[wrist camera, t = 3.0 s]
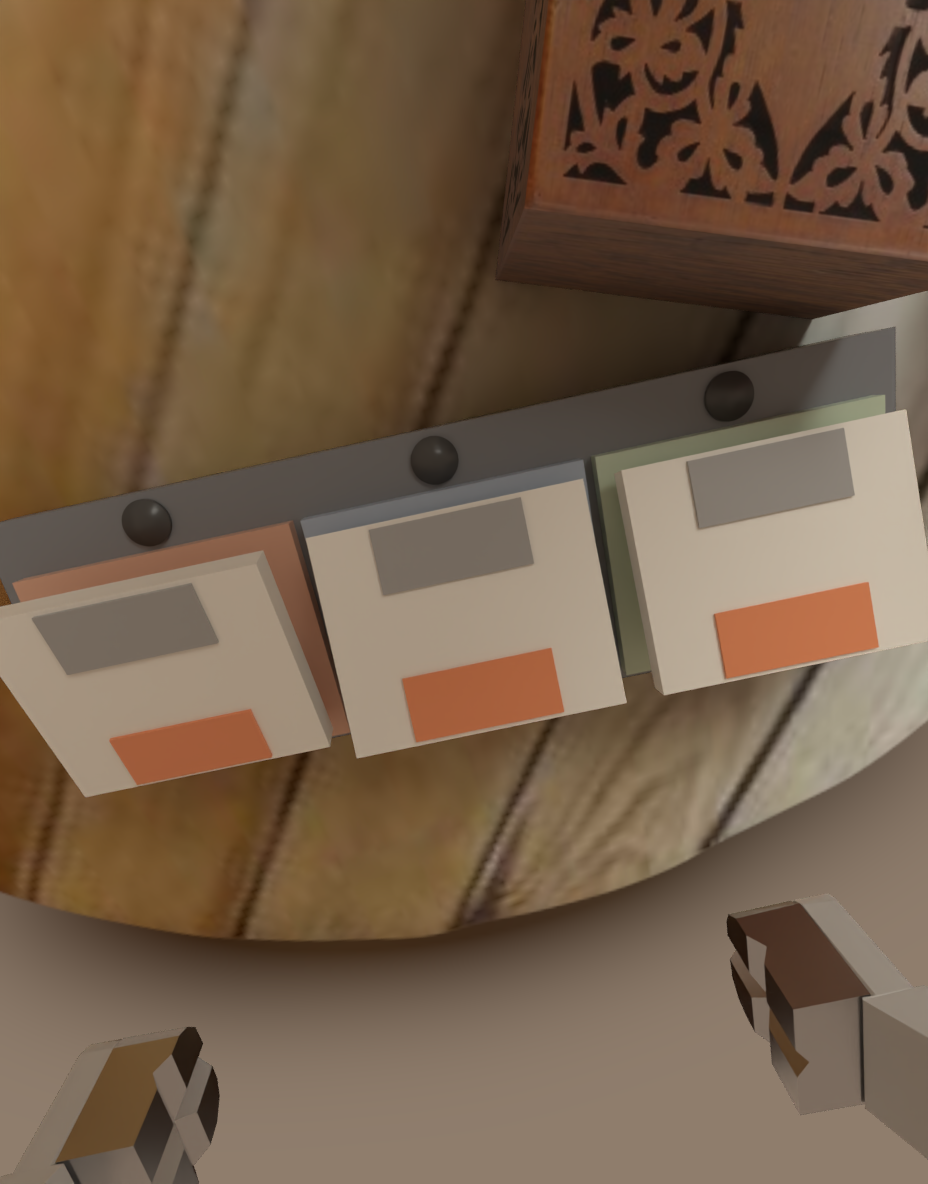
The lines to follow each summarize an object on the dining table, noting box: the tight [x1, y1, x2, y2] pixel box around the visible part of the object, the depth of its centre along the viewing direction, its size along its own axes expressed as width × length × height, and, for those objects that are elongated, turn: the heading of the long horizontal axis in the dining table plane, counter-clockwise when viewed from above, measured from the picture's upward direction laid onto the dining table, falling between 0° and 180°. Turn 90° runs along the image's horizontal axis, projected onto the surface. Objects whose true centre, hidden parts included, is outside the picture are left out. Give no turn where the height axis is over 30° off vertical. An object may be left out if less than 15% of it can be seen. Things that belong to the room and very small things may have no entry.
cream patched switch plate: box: [0, 550, 333, 797], centre depth 25 cm, size 11×9×1 cm
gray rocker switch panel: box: [0, 327, 896, 738], centre depth 28 cm, size 39×13×4 cm, turn 102°
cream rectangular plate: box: [306, 479, 627, 758], centre depth 25 cm, size 11×9×1 cm
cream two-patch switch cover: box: [614, 409, 928, 695], centre depth 24 cm, size 11×9×1 cm
